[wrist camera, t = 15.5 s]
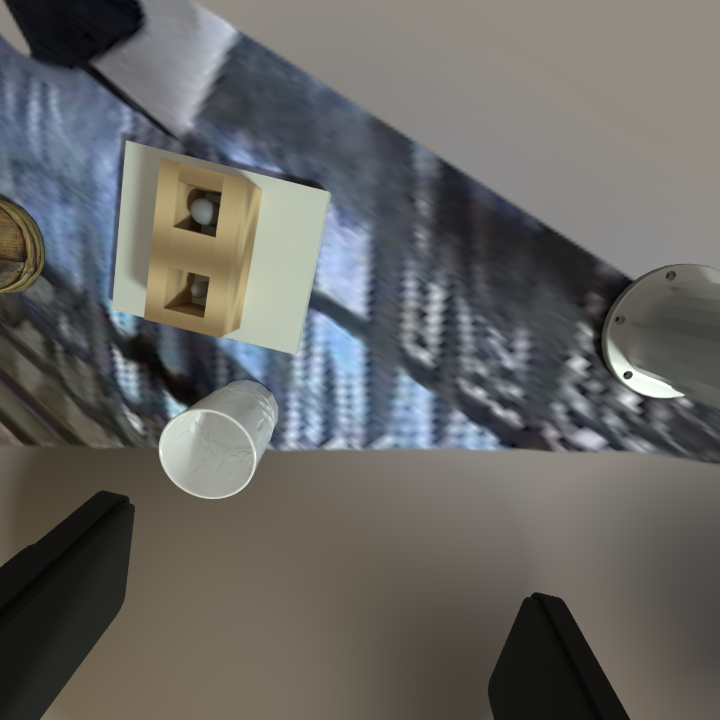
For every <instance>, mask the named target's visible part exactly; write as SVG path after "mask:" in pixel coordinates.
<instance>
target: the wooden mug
mask: <svg viewBox="0 0 720 720" xmlns="http://www.w3.org/2000/svg"><path fill="white" fill-rule="evenodd" d="M44 261H45V248H44V242H43V237H42V235H41V233H40V230H39V228H38V225H37V224H36V223H35V222H34V221H33V220H32V218H31V217H30V216H29V215H28V214H27V213H26V212H25V210H24V209H22V208H20V207H18V206H16V205H14V204H12V203H10V202H8V201H5V200H0V292H1V293H16V292H20V291H24V290H27V289H28V288H29V287H31V286H32V285H33V284H34V283H35V282H36V280H37V278H38V276H39V274H40V273H41V270H42V268H43V264H44Z"/></svg>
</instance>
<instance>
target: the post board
mask: <svg viewBox="0 0 720 720" xmlns="http://www.w3.org/2000/svg"><path fill="white" fill-rule="evenodd" d="M161 158H164V159H168V160H172V161H176V162H180V163H184V164H188V165H192V166H196V167H200V168H204V169H207V170H211V171H215V172H219V173H223V174H227V175H231V176H235V177H239V178H243V179H245V180H247V181H248V182H250V183H251V184H253V185H255V186H256V187H258V188H259V189H261V190H262V191H263V194H262V200H261V206H260V212H259V218H258V224H257V229H256V235H255V241H254V247H253V253H252V259H251V265H250V271H249V277H248V283H247V289H246V295H245V301H244V307H243V313H242V319H241V325H240V328H239V329H237V330H235V331H233V332H231V333H229V334H226V335H224V336H222V337H226V338H230V339H234V340H238V341H242V342H246V343H250V344H254V345H258V346H262V347H266V348H271V349H275V350H279V351H283V352H287V353H291V354H295V355H296V354H297V352H298V351H299V347H300V342H301V337H302V332H303V328H304V323H305V318H306V313H307V308H308V304H309V299H310V294H311V289H312V284H313V280H314V275H315V270H316V265H317V260H318V256H319V251H320V246H321V241H322V236H323V232H324V227H325V222H326V217H327V212H328V208H329V203H330V198H331V194H330V192H328V191H324V190H320V189H316V188H312V187H308V186H304V185H300V184H296V183H292V182H288V181H284V180H280V179H277V178H273V177H269V176H265V175H261V174H257V173H253V172H249V171H245V170H241V169H237V168H233V167H229V166H225V165H221V164H217V163H213V162H209V161H205V160H202V159H198V158H194V157H190V156H186V155H182V154H178V153H174V152H170V151H166V150H162V149H158V148H154V147H150V146H146V145H142V144H138V143H134V142H131V141H127V140H126V147H125V159H124V171H123V183H122V195H121V207H120V219H119V231H118V243H117V255H116V267H115V279H114V291H113V303H112V310H115V311H119V312H123V313H127V314H132V315H136V316H140V317H144V311H145V301H146V292H147V282H148V273H149V263H150V254H151V244H152V235H153V225H154V216H155V206H156V197H157V187H158V178H159V168H160V159H161ZM220 203H221V196H217V195H213V194H209V193H206V197H205V199H204V198H200V199H197V200H195V201H194V202H193V203H192V205H191V215H192V217H193V218H194V220H195V221H197V222H198V223H200V224H202V227H201V232H203V233H207V234H211V235H215V236H216V231H217V224H218V217H219V210H220ZM209 280H210V277H207V276H203V275H199V274H195V279H194V284H193V285H192V287H191V292H192V301H191V302H192V303H196V304H200V305H204V306H206V300H207V294H208V287H209Z"/></svg>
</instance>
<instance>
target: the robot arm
mask: <svg viewBox="0 0 720 720" xmlns="http://www.w3.org/2000/svg"><path fill="white" fill-rule="evenodd" d="M616 317H617V319H616ZM615 319H616V320H615ZM601 345H602V352H603V357H604V360H605V362H606V365H607V367H608V369H609V370H610V372H611V373H612V375H613V376H614V377H615V378H616V379H617V380H618V381H619V382H620V383H621V384H623V385H624V386H626V387H628V388H629V389H631V390H633V391H635V392H637V393H640V394H642V395H645V396H649V397H653V398H675V397H681V396H685V395H687V396H689V397H691V398H694V399H696V400H699V401H701V402H703V403H706V404H708V405H710V406H713V407H715V408H717V409H720V271H719V270H717V269H714V268H711V267H709V266H704V265H697V264H676V265H670V266H664V267H662V268H658V269H655V270H652V271H651V272H649V273H647V274H645V275H643V276H641V277H639V278H638V279H637V280H635V281H634V282H633V283H631V284H630V285H629V286H628V287H627V288H626V289H625V290H624V291H623V292H622V293H621V294H620V295H619V296H618V297H617V299H616V300H615V302H614V303H613V305H612V306H611V308H610V310H609V312H608V314H607V317H606V319H605V322H604V326H603V330H602V341H601ZM134 512H135V507H134V505H132V504H129V498H128V497H127V496H125V495H121V494H116V493H112V492H108V491H104V490H103V491H100V492H98V493H96V494H95V495H94V496H93V497H91V498H90V499H89V500H88V501H87V502H85V503H84V504H83V505H82V506H81V507H79V508H78V509H77V510H76V511H74V512H73V513H72V514H71V515H70V516H68V517H67V518H66V519H65V520H63V521H62V522H61V523H60V524H59V525H57V526H56V527H55V528H54V529H53V530H51V531H50V532H49V533H48V534H46V536H44V537H43V538H42V539H40V540H39V541H38V542H37V543H36V544H32V545H29V546H28V547H26V548H25V549H23V550H22V551H20V552H19V553H18V554H16V555H15V556H14V557H13V558H11V559H10V560H9V561H8V562H7V563H5V564H4V565H3V566H2V567H0V720H40V718H41V717H42V716H43V714H44V713H45V712H46V710H47V709H48V708H49V706H50V705H51V704H52V702H53V701H54V700H55V698H56V697H57V695H58V694H59V693H60V691H61V690H62V689H63V687H64V686H65V685H66V683H67V682H68V680H69V679H70V678H71V676H72V675H73V673H74V672H75V671H76V670H77V668H78V667H79V666H80V664H81V663H82V662H83V660H84V659H85V657H86V656H87V655H88V653H89V652H90V651H91V649H92V648H93V647H94V645H95V644H96V643H97V641H98V640H99V638H100V637H101V636H102V634H103V633H104V632H105V630H106V629H107V628H108V626H109V625H110V624H111V622H112V621H113V620H114V618H115V617H116V615H117V614H118V612H119V610H120V609H121V607H122V604H123V602H124V599H125V591H126V583H127V575H128V566H129V557H130V548H131V538H132V530H133V521H134ZM488 694H489V701H490V705H491V709H492V713H493V717H494V720H630V718H629V717H628V715H627V713H626V711H625V709H624V708H623V706H622V704H621V702H620V701H619V699H618V697H617V695H616V693H615V691H614V690H613V688H612V686H611V684H610V682H609V681H608V679H607V677H606V675H605V674H604V672H603V670H602V668H601V666H600V665H599V663H598V661H597V659H596V657H595V656H594V654H593V652H592V650H591V648H590V647H589V645H588V643H587V641H586V640H585V638H584V636H583V635H582V632H581V631H580V629H579V627H578V625H577V623H576V622H575V620H574V618H573V616H572V614H571V613H570V611H569V609H568V607H567V606H566V604H565V602H564V601H563V600H562V599H561V598H558V597H554V596H550V595H546V594H542V593H533V594H532V595H531V597H530V598H529V597H527V598H525V599H524V601H523V603H522V605H521V607H520V610H519V612H518V615H517V617H516V619H515V622H514V624H513V626H512V629H511V631H510V633H509V636H508V638H507V641H506V643H505V645H504V647H503V650H502V652H501V654H500V657H499V659H498V661H497V664H496V666H495V669H494V671H493V674H492V676H491V678H490V681H489V687H488Z"/></svg>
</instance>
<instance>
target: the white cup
mask: <svg viewBox="0 0 720 720" xmlns="http://www.w3.org/2000/svg"><path fill="white" fill-rule="evenodd" d="M277 421H278V405H277V403H276V400H275V398H274V396H273V394H272V393H271V392H270V391H269V390H268V389H267V388H265V387H264V386H263V385H262V384H260V383H257V382H253V381H250V380H239V381H232V382H231V383H229V384H228V385H226V386H225V387H223V388H221V389H219V390H216V391H215V392H213V393H211V394H210V395H208V396H206V397H205V398H203V399H201V400H200V401H198V402H197V403H195V404H194V405H192V406H191V407H189V408H188V409H186V410H185V411H183V412H182V413H180V414H179V415H177V416H176V417H174V418H173V419H172V420H171V421H170V422H169V423H168V424H167V425H166V427H165V428H164V430H163V432H162V434H161V437H160V441H159V456H160V460H161V464H162V466H163V468H164V470H165V472H166V473H167V475H168V476H169V478H170V479H171V480H172V481H173V482H174V483H175V484H176V485H177V486H178V487H180V488H181V489H183V490H184V491H186V492H188V493H190V494H192V495H195V496H198V497H202V498H208V499H217V498H224V497H228V496H231V495H233V494H235V493H237V492H238V491H240V490H241V489H243V488H244V487H245V486H246V485H247V484H248V482H249V481H250V479H251V478H252V476H253V474H254V472H255V470H256V468H257V466H258V463H259V461H260V459H261V458H262V456H263V454H264V452H265V449H266V447H267V445H268V442H269V440H270V438H271V436H272V432H273V429H274V427H275V425H276V423H277Z"/></svg>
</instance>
